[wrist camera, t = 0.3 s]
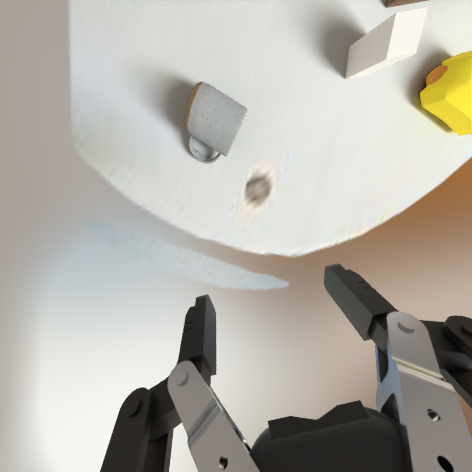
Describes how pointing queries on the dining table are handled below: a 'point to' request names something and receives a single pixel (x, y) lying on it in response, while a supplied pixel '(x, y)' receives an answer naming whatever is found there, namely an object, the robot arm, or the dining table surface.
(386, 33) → the loose white rectangular block
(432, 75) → the yellow faceted pepper
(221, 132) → the ceramic mug
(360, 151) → the dining table surface
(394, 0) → the wooden ladder shelf
